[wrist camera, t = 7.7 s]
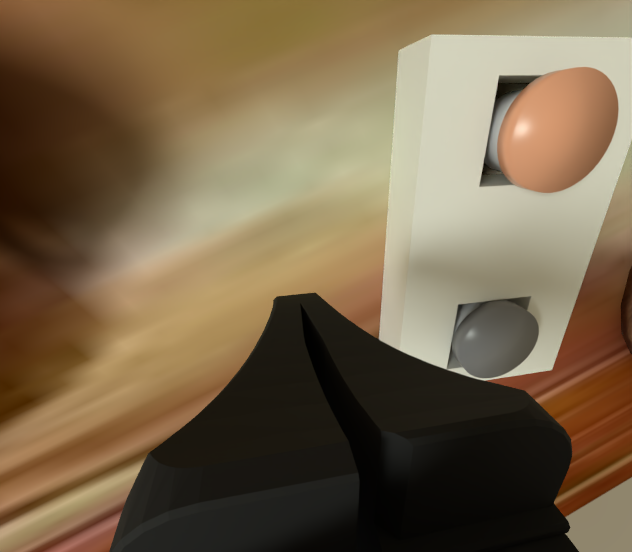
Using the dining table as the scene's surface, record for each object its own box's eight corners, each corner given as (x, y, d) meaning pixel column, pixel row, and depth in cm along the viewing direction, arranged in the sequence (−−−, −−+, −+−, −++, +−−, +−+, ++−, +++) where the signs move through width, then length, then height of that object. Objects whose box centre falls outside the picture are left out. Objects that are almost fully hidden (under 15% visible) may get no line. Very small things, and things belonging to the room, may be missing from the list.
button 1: (492, 341, 25) (527, 372, 22) (428, 350, 25) (454, 383, 21) (507, 279, 23) (548, 303, 20) (437, 286, 22) (468, 313, 19)
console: (517, 341, 27) (551, 369, 24) (377, 361, 26) (395, 394, 23) (598, 51, 19) (666, 38, 16) (398, 50, 17) (431, 34, 14)
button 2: (540, 179, 20) (595, 189, 17) (459, 183, 19) (501, 196, 16) (566, 76, 17) (635, 66, 14) (475, 77, 17) (527, 66, 14)
